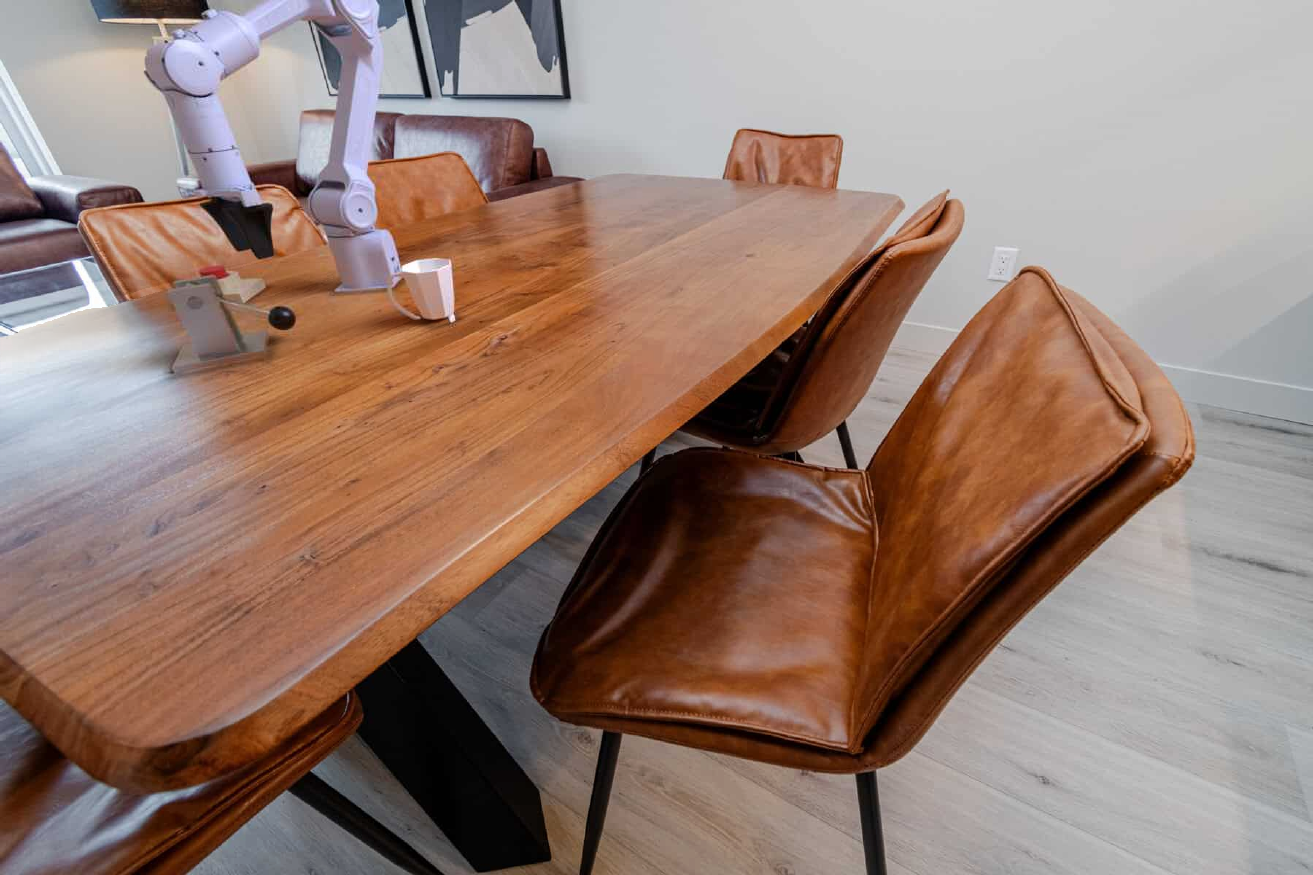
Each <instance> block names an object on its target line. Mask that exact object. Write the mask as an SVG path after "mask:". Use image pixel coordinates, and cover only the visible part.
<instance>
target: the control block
mask: <svg viewBox="0 0 1313 875" xmlns="http://www.w3.org/2000/svg"><path fill="white" fill-rule="evenodd" d="M226 272H227V274H228V277H225V278H222V279H218V283H219V285H220V287H221V289H222V292H223V294H224V296H225V298H226V299H228V300H232V301H235V302H239V303H243V304H246V302H247V301H249V300H250V299H252V298H253V297H255V296H256V295H257V294H259V293H261V291H264V290H265V289H266V284H265V282H264V279H263V278H262V277H259V278H256V277H255V278H243V279H242V278H241V277H240V275H239V273H238V271H234V270H226ZM198 277H201V276H200V275H199V276H198Z"/></svg>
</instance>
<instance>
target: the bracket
mask: <svg viewBox="0 0 1313 875" xmlns="http://www.w3.org/2000/svg"><path fill="white" fill-rule="evenodd" d="M187 282H189V283H193V284H196V285H195V286H189V287H185V285H186V284H187ZM173 286H174V288H171V289H170V288H169V289H168V290H167V291H166V294H167V296H168V298H169V300H170V302H171V303H172V306H173V308H174V309H175V312H176V314H177V316H178V317H179V320H180V322H181V323H182V326H183V328H184V329H185V332H186V334H187V336H188V338H189V339H190V342H191V343H187V344H183V345H182V347H181V348H180V351H179V352H178V354H177V356H176V358H175V361H174V362H173V364H172V366H171V370H172V371H173V373H174V374H178V373H183V372H190V371H194V370H198V369H204V368H208V367H209V368H210V367H214V366H219V365H224V364H229V363H234V362H239V361H240V362H241V361H244V360H250V359H254V358H259V357H260V358H261V357H265V356H266V353H267V349H268V344H269V339H270V333H269V331H268V329H263V330H259V331H258V330H257V331H253V332H247V333H243V334H242V332H241V329H240V328H239V327H240V326H239V325H238V322H237V321H236V318H235V316H234V314H233V311H231V310H227V309H223V308H222V307H221V305H220V303H219V301H218V298H217V297H220V298H224V299H226V298H225V296H224V294H223V292H222V289H221V287H220V285H219V283H218V280H217V278H216V276H215V275H210V276H203V277H199V276H197V277H192V278H185V279H178V280H174V281H173ZM213 289H215V292H214V290H213Z"/></svg>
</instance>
